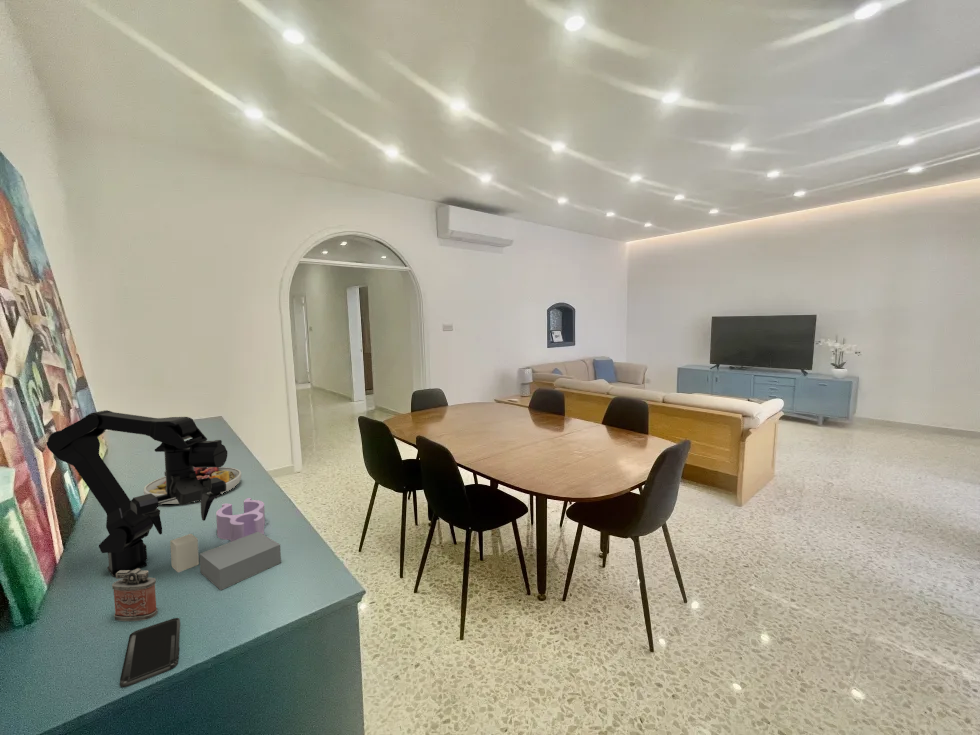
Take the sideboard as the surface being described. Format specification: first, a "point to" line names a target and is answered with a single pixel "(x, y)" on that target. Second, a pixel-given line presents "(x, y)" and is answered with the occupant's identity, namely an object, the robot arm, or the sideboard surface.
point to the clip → (240, 520)
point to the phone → (151, 652)
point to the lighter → (134, 596)
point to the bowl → (223, 473)
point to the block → (184, 552)
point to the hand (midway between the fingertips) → (182, 526)
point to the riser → (239, 559)
